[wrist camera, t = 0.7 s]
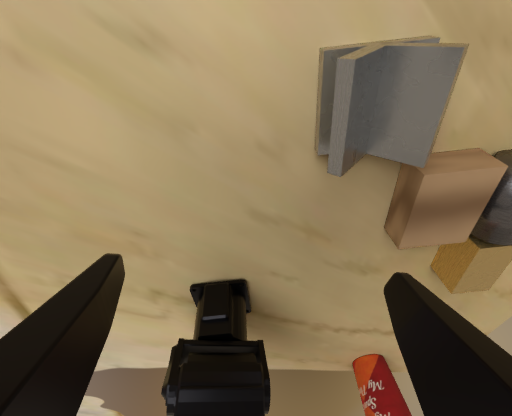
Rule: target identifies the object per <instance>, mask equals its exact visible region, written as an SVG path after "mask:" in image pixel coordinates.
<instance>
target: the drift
mask: <svg viewBox="0 0 512 416" xmlns="http://www.w3.org/2000/svg"><path fill="white" fill-rule="evenodd" d="M511 260H512V245H497V244H492V243H489V242H486V241H483V240H481V239H479V238H477V237H475V236H474V235H472V234H471V233H470V235H469V237H468V238H467V240H466V242H462V243H452V244H443V245H440V247H439V249H438V252H437V254H436V256H435V258H434V260H433V262H432V264H431V267H432V268H433V270H434V271H435V272H436V274H437V275H438V276H439V278H440V279H441V281H442V282H443V283H444V285H445V286H446V287H447V289H448V290H449V292H450V293H451V294H455V293H465V292H475V291H484V290H489V289H490V288H491V286H492V285H493V284H494V283H495V281H496V280H497V279H498V277H499V276H500V275H501V273H502V272H503V271H504V270H505V268H506V267H507V266H508V264H509V263H510V262H511Z"/></svg>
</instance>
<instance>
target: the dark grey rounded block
mask: <svg viewBox="0 0 512 416" xmlns="http://www.w3.org/2000/svg"><path fill="white" fill-rule="evenodd" d="M495 158H496V159H498V160H499V161H501V162H503V163H504V164H506V165H507V166H508V168H507V169H506V171H505V173H504V175H503V177H502V178H501V180H500V182H499V184H498V185H497V187H496V189H495V191H494V192H493V194H492V196H491V198H490V200H489V201H488V203H487V205H486V207H485V208H484V210H483V212H482V214H481V215H480V217H479V219H478V221H477V223H476V224H475V226H474V228H473V230H472V231H471V234H472V235H474V236H475V237H477V238H479V239H481V240H483V241H486V242H489V243H492V244H497V245H512V149H511V150H503V151H500V152H498V153H497V155H496V157H495Z"/></svg>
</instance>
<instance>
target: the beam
mask: <svg viewBox="0 0 512 416" xmlns="http://www.w3.org/2000/svg"><path fill="white" fill-rule="evenodd" d="M507 168H508V166H507V165H506V164H504V163H503V162H501V161H499V160H498V159H496V158H495V157H493V156H491V155H490V154H488V153H487V152H485V151H483V150H482V149H480V148H475V149H466V150H457V151H448V152H439V153H431V155H430V158H429V160H428V163H427V164H426V165H425V167H424V168H421V167H417V166H413V165H409V164H405V163H402V166H401V170H400V173H399V177H398V180H397V184H396V187H395V191H394V194H393V198H392V201H391V205H390V208H389V212H388V216H387V219H386V223H385V226H384V228H385V229H386V231H387V232H388V234H389V236H390V237H391V239H392V240H393V242H394V243H395V245H396V246H397V248H398V249H405V248H415V247H424V246H433V245H443V244H452V243H462V242H466V240H467V238H468V237H469V235H470V233H471V231H472V230H473V228H474V226H475V224H476V223H477V221H478V219H479V217H480V215H481V214H482V212H483V210H484V208H485V207H486V205H487V203H488V201H489V200H490V198H491V196H492V194H493V192H494V191H495V189H496V187H497V185H498V184H499V182H500V180H501V178H502V177H503V175H504V173H505V171H506V169H507Z"/></svg>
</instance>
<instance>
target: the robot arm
mask: <svg viewBox="0 0 512 416" xmlns="http://www.w3.org/2000/svg"><path fill="white" fill-rule="evenodd" d="M124 278H125V270H124V265H123V259H122V256H121V255H120V254H110V253H107V254H105V255H103V256H102V257H101V258H100V259H98V260H97V261H96V262H95V263H93V264H92V265H91V266H90V267H88V268H87V269H86V270H85V271H84V272H82V273H81V274H80V275H79V276H77V277H76V278H75V279H74V280H72V281H71V282H70V283H69V284H67V285H66V286H65V287H64V288H63V289H61V290H60V291H59V292H58V293H56V294H55V295H54V296H53V297H51V298H50V299H49V300H48V301H47V302H45V303H44V304H43V305H42V306H40V307H39V308H38V309H37V310H35V311H34V312H33V313H32V314H30V315H29V316H28V317H27V318H26V319H24V320H23V321H22V322H21V323H19V324H18V325H17V326H16V327H14V328H13V329H12V330H11V331H10V332H8V333H7V334H6V335H5V336H3V337H2V338H1V339H0V416H76V415H77V412H78V410H79V407H80V405H81V402H82V400H83V397H84V395H85V392H86V390H87V387H88V385H89V382H90V380H91V377H92V375H93V372H94V370H95V367H96V365H97V362H98V359H99V357H100V354H101V352H102V349H103V347H104V344H105V342H106V339H107V337H108V334H109V331H110V329H111V326H112V322H113V319H114V315H115V311H116V308H117V304H118V300H119V297H120V293H121V289H122V286H123V282H124ZM190 292H191V295H192V297H193V300H194V302H195V304H196V307H197V313H196V321H195V329H194V338H193V340H185V339H183V338H179V341H178V344H177V345H176V346H174V347H172V350H171V356H170V361H169V366H168V369H167V373H166V376H165V380H164V383H163V387H162V393H161V394H162V396H163V397H164V399H165V400H166V406H167V416H265V414H268V411H269V407H270V378H269V372H268V366H267V361H266V355H265V350H264V344H263V340H257V341H247V328H246V313H250V312H251V305H250V300H249V295H248V289H247V284H246V281H245V280H233V281H223V282H214V283H204V284H195V285H191V286H190ZM384 295H385V299H386V303H387V307H388V311H389V314H390V318H391V322H392V326H393V330H394V333H395V337H396V339H397V342H398V345H399V348H400V351H401V353H402V356H403V359H404V362H405V364H406V367H407V370H408V373H409V375H410V378H411V381H412V383H413V386H414V389H415V392H416V394H417V397H418V400H419V403H420V405H421V408H422V411H423V414H424V416H512V356H511V355H510V354H509V353H507V352H506V351H505V350H504V349H502V348H501V347H500V346H499V345H497V344H496V343H495V342H494V341H492V340H491V339H490V338H489V337H487V336H486V335H485V334H484V333H482V332H481V331H480V330H479V329H477V328H476V327H475V326H474V325H472V324H471V323H470V322H468V321H467V320H466V319H465V318H463V317H462V316H461V315H460V314H458V313H457V312H456V311H455V310H453V309H452V308H451V307H450V306H448V305H447V304H446V303H445V302H443V301H442V300H441V299H440V298H438V297H437V296H436V295H435V294H433V293H432V292H431V291H430V290H428V289H427V288H426V287H425V286H423V285H422V284H421V283H420V282H418V281H417V280H416V279H415V278H413V277H412V276H411V275H409V274H408V273H400V272H396V273H394V274H393V275H392V277H391V278H390V279H389V281H388V282H387V284H386V285H385V287H384Z"/></svg>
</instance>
